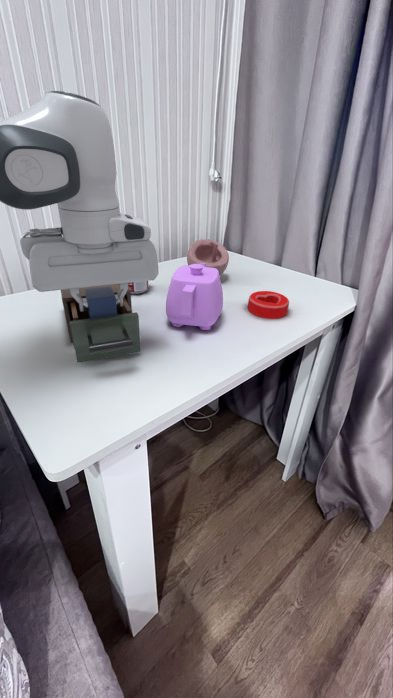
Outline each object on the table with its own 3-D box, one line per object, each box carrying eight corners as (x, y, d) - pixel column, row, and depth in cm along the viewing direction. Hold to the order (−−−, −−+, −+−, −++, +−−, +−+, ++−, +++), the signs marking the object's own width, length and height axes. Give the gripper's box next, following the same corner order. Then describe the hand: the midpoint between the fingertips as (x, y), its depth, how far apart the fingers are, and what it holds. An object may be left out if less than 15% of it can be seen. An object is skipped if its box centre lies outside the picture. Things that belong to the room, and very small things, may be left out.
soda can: (151, 293, 87) (149, 248, 81) (125, 296, 85) (122, 250, 79) (145, 284, 92) (143, 240, 86) (120, 287, 90) (116, 242, 84)
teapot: (215, 344, 67) (220, 285, 60) (156, 336, 69) (154, 278, 62) (225, 303, 84) (230, 254, 77) (178, 298, 85) (178, 249, 79)
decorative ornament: (272, 322, 76) (274, 310, 74) (239, 308, 82) (241, 296, 80) (294, 311, 82) (297, 299, 80) (263, 298, 88) (264, 287, 86)
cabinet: (133, 333, 70) (130, 290, 64) (70, 343, 65) (61, 298, 60) (120, 304, 81) (116, 266, 76) (65, 311, 77) (57, 271, 71)
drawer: (147, 366, 58) (145, 327, 54) (80, 379, 55) (72, 338, 50) (125, 320, 73) (123, 286, 68) (71, 327, 69) (64, 292, 65)
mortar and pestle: (194, 287, 92) (195, 246, 86) (181, 273, 101) (182, 234, 95) (233, 284, 95) (237, 243, 89) (217, 270, 105) (220, 233, 99)
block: (91, 323, 57) (87, 299, 54) (88, 312, 60) (84, 289, 58) (117, 319, 58) (115, 296, 56) (113, 309, 62) (110, 286, 59)
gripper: (15, 235, 45) (38, 324, 53) (160, 227, 52) (162, 307, 59) (18, 224, 50) (38, 307, 57) (149, 219, 57) (152, 294, 64)
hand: (102, 307), depth 58 cm, fingers closed on block, 4 cm apart
